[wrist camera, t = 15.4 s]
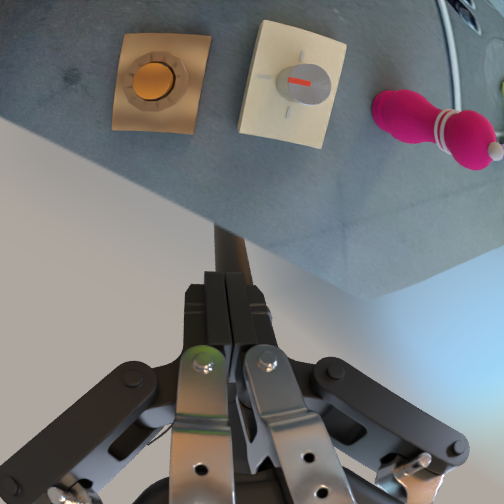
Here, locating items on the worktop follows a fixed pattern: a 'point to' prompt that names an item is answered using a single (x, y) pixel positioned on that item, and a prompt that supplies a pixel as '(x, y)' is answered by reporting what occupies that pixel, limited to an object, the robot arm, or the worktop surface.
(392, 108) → the pepper mill
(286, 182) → the worktop surface
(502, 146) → the figurine
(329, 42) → the dimmer panel
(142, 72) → the light button
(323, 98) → the dimmer knob
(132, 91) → the switch block
